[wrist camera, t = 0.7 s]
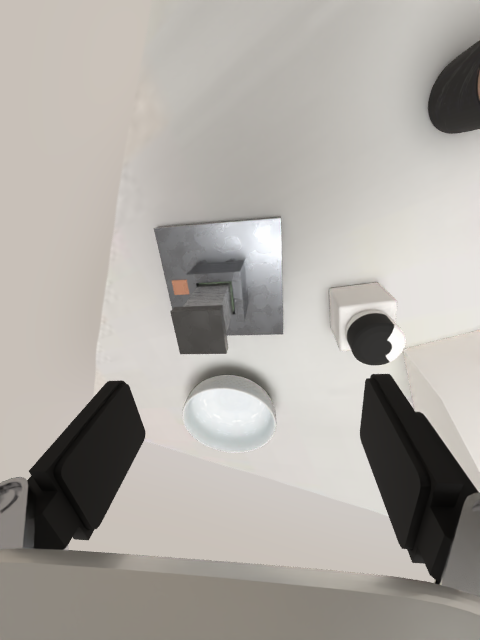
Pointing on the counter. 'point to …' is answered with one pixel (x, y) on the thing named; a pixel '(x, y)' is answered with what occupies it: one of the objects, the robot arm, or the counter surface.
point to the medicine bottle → (366, 323)
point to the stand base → (228, 268)
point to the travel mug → (458, 94)
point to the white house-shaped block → (450, 394)
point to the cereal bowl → (230, 414)
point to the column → (205, 319)
